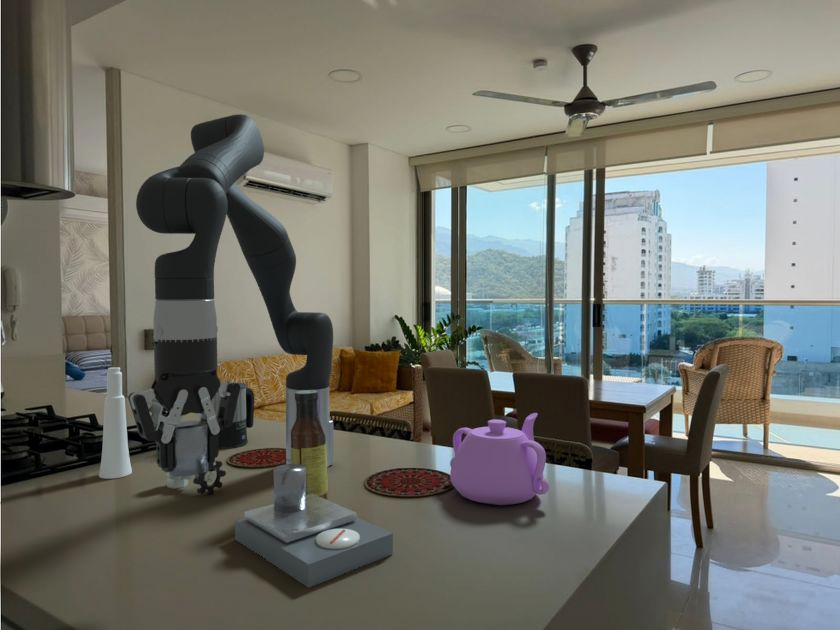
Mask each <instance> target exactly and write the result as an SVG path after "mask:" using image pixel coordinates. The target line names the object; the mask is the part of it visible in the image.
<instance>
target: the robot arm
mask: <svg viewBox="0 0 840 630" xmlns="http://www.w3.org/2000/svg"><path fill="white" fill-rule="evenodd" d="M190 141H191V145H192V148H193V151H194V152H193V153H192V154H191V155H189V156H188V157H187V158H186V159H185V160H184V161H183V162H182V163H180V165H179V166H176V167H171V168H168V169H165V170H162V171H159V172H158V173H155V174H152V175H150V177H148V178H147V179H145V180H144V182H143V183H142V185H141V186H140V187H139V189H138V191H137V196H136V201H135V205H136V212H137V216H138V218H139V219H140V221H141V223H142V224H143V225H144V226H145V227H146V228H147V229H149V230H150V231H152V232H155V233H157V234H158V233H159V234H167V235H168V234H170V235H173V234H174V235H175V234H176V235H177V234H178V235H179V234H180V235H181V234H182V235H184V234H185V235H186V234H188V235H189V234H190V235H194V237H193V239H192V241H191V242H190V244H189V245H188V246H186V248H183V249H181V250H176V251H171V252H166V253H163V254H160V255H159V256H157V257H156V259H155V262H154V295H155V297H154V298H155V301H154V312H153V320H152V321H153V322H152V323H153V352H154V353H153V355H154V357H153V359H154V360H153V361H154V363H153V364H154V365H153V366H154V368H153V369H154V380H153V383H152V384H151V387H150V388H149V389H147V390H143V391H140V392H131V393H129V394H128V396H127V399H128V402H129V406H130V410H131V412H132V416H133V418H134V423H135V425H136V428H137V431H138V434H139V436H140V438H142V439H145V440H146V441H148V442H155V444H156V445H155V446H156V449H155V450H156V454H155V455H156V464H157V466H158V467H159V468H161V470H162V471H163V472H165V474H166V473H167V472H172V471H173V443H172V442H170V441H171V438H172V435H173V432H174V428H175V426H176V425H177V424H178V422H179V418H180V416H182V417H183V416H186V415H188V414H196V416H197V418H198V419H199V421H205V422H206V423H208V463H213V462H214V463H215V462H216V458H218V456H219V451H220V450H219V449H220V448H219V447H218V434H219V432H220V431H221V430H222V429H224V428H226V427H230V426H231V425H232V423H233V419H234V414H235V410H236V405H237V400H238V396H239V391H240V385H239V384H238V383H239V382H233V381H229V380H228V381H221V379H220V378H219V376H218V331H219V329H218V328H219V327H218V325H217V324H218V323H217V319H218V318H217V310H216V305H215V264H216V257H217V251H218V247H219V243H220V239H221V235H222V232H223V230H224V226H225V223H226V222H225V221H226V218H227V219H228V220H229V223H230V225H231V228H232V229H233V232H234V234H235V237H236V239H237V242H238V243H239V247H240V249H241V252H242V254H243V257H244V259H245V261H246V264H247V265H248V267H249V270H250V271H251V274H252V276H253V278H254V279H255V282H256V285H257V287H258V290H259V292H260V293H261V296H262V299H263V301H264V304H265V307H266V309H267V312H268V316H269V319H270V323H271V325H272V328H273V331H274V334H275V337H276V340H277V342H278V344H279V346H280V349H282V351H284V352H285V353H287V354H290V355H293V356H294V355H295V356H297V355H298V356H306V361H305V365H303V367H301V368H300V369H297V370H294V371H290V372H289V373H288V374H286V377H285V452H286V454H285V455H286V456H285V460H286V461H285V463H286V464H291V429H292V427H293V425H294V423H295V421H296V418H297V417H296V413H297V410H296V400H295V392H297V391H303V390H315V391H317V392H318V400H317V406H318V416H319V419H320V422H321V425H322V429H323V432H324V434H325V437H326V452H327V468H329V467H330V466H333V465H334V421H333V420H331V419H330V413H331V411H330V410H331V409H330V380H331V375H332V369H333V347H334V327H333V323H332V320H331V318H330V316H329V315H328V314H326V313H323V312H313V311H311V312H310V311H309V312H307V311H305V312H303V311H301V312H300V311H298V310H297V309H296V307H295V306H294V303H293V300H292V297H291V286H292V282H293V279H294V275H295V271H296V267H297V256H296V253H295V249H294V246H293V245H292V242H291V239H290V237H289V234H288V232H287V229H286V228H285V226H284V224H282V223H281V222H280V221H279V220H278V219H277V218H276V217H275V216H273V215H272V214H271V213H270V212H269V211H267V210H266V209H264V208H263V207H262V206H260V205H259V204H257V203H256V202H255V201H254V200H252V199H251V198H250V197H249V196H248V195H247V194H246V193H245V192H244V191H243V189H241V187H240V186H239V185H238V184H237V181H238V180H239V179H241V177H242V176H244V175H245V174H247V172H249V171H250V170H252V169H253V168H255V167H257V166H259V165H260V164H261V163H262V162H263V160H264V156H265V146H264V141H263V138H262V134H261V132H260V129H259V127H258V126H257V124H256V122H255V121H254V120H253V119H252V117H250V116H248V115H246V114H240V113H239V114H231V115H228V116H223V117H220V118H215V119H212V120H207V121H203V122H200V123H197V124H195V125H194V126H193V127H192V128H191V130H190ZM218 389H219V395H220V396H221V400H220V405H219V409H218V414H217V418H216V413H215V411H214V408H213V405H212V403H211V401H212V399H213V397H214V396H215V394H216V393H217V391H218ZM154 397H155V398H156V399H157V400H158V401H159V402H160V404H161V405H162V408H161V411H160V414H159V417H158V421H159V422H158V425H157V428H156V430H155V429H154V425H153V422H152V419H151V416H150V412H149V408H150V407H151V406H152V399H153V398H154Z"/></svg>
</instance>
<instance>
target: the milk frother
mask: <svg viewBox="0 0 840 630" xmlns="http://www.w3.org/2000/svg"><path fill="white" fill-rule="evenodd" d="M237 383H238V384H239V385H240V391H239V396H238V400H237V405H236V410H235V414H234V419H233V423H232V425H231V426H230V427H226V428H224V429H222V430H221V431H220V432H219V434H218V447H219V449H233V448H239V447H242V446H246V445H247V444H248V442H249V440H248V432H247V429H251V428H252V427H253V426H254V417H255V393H254V391H253V390H252V389H251V388H250V387H247V386H248V384H247V383H244V382H237ZM220 400H221V396H220V395H219V389H218V391H217V393H216V394H215V396H214V397H213V399H212V401H211V403H212V405H213V408H214V411H215V413H216V418H217V414H218V409H219V405H220Z"/></svg>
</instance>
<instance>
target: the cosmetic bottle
mask: <svg viewBox="0 0 840 630" xmlns="http://www.w3.org/2000/svg"><path fill="white" fill-rule="evenodd" d="M107 370H108V372H107V373H106V396H105V397H104V401H103V402H104V406H103V428H102V429H103V430H102V447H101V448H102V450H101V460H100V467H99V472H98V477H99V478H101V479H104V480H108V479H109V480H112V479H120V478H124V477H128V476H130V475H131V474H132V473H133V470H132V466H131V465H132V464H131V459H130V452H129V442H128V441H129V440H128V429H127V414H126V413H127V411H126V399H125V395H123V373H122V371H121V367H117V366H113V367H112V366H111V367H108V368H107Z"/></svg>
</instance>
